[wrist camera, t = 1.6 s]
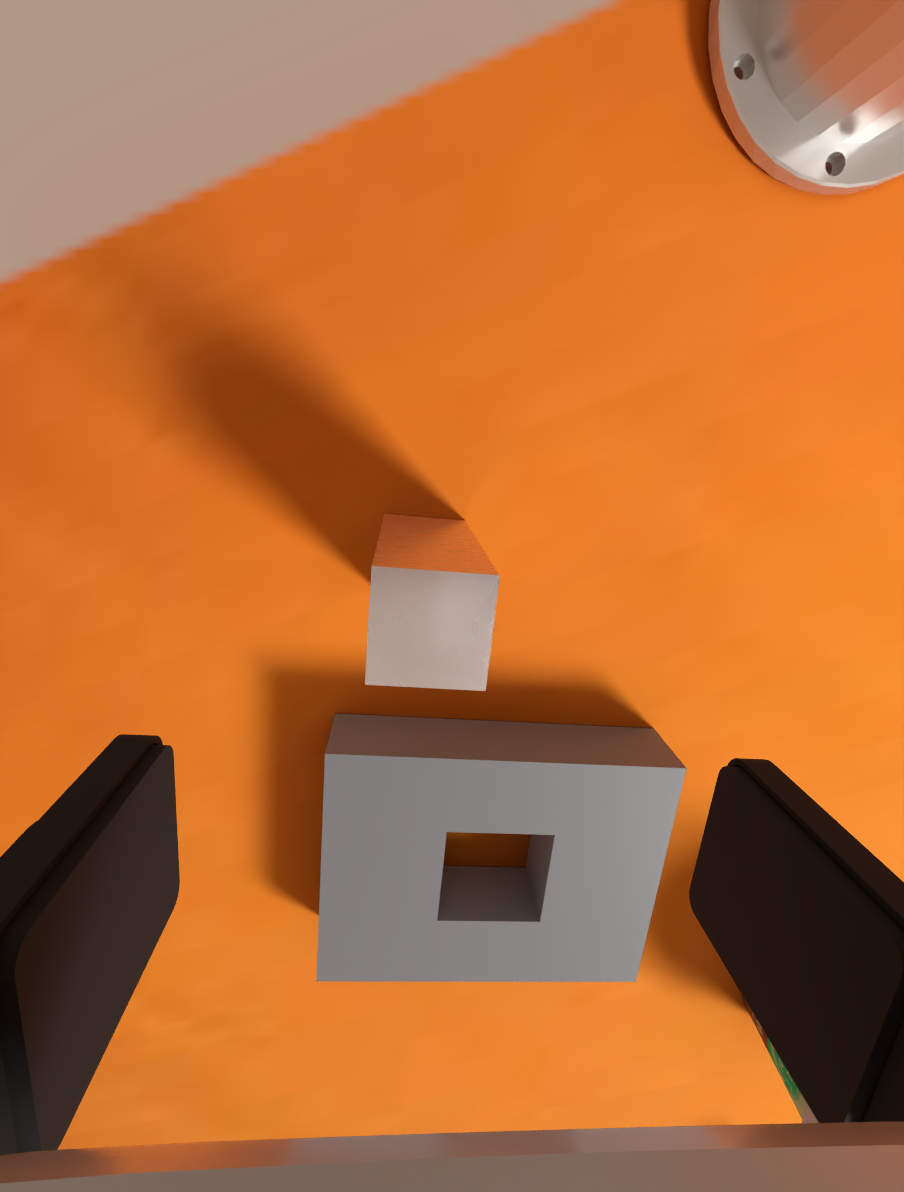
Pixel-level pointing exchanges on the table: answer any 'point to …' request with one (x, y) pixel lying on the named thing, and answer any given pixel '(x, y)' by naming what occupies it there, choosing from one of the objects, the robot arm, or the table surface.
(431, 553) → the steel pin
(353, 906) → the block
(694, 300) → the table surface
